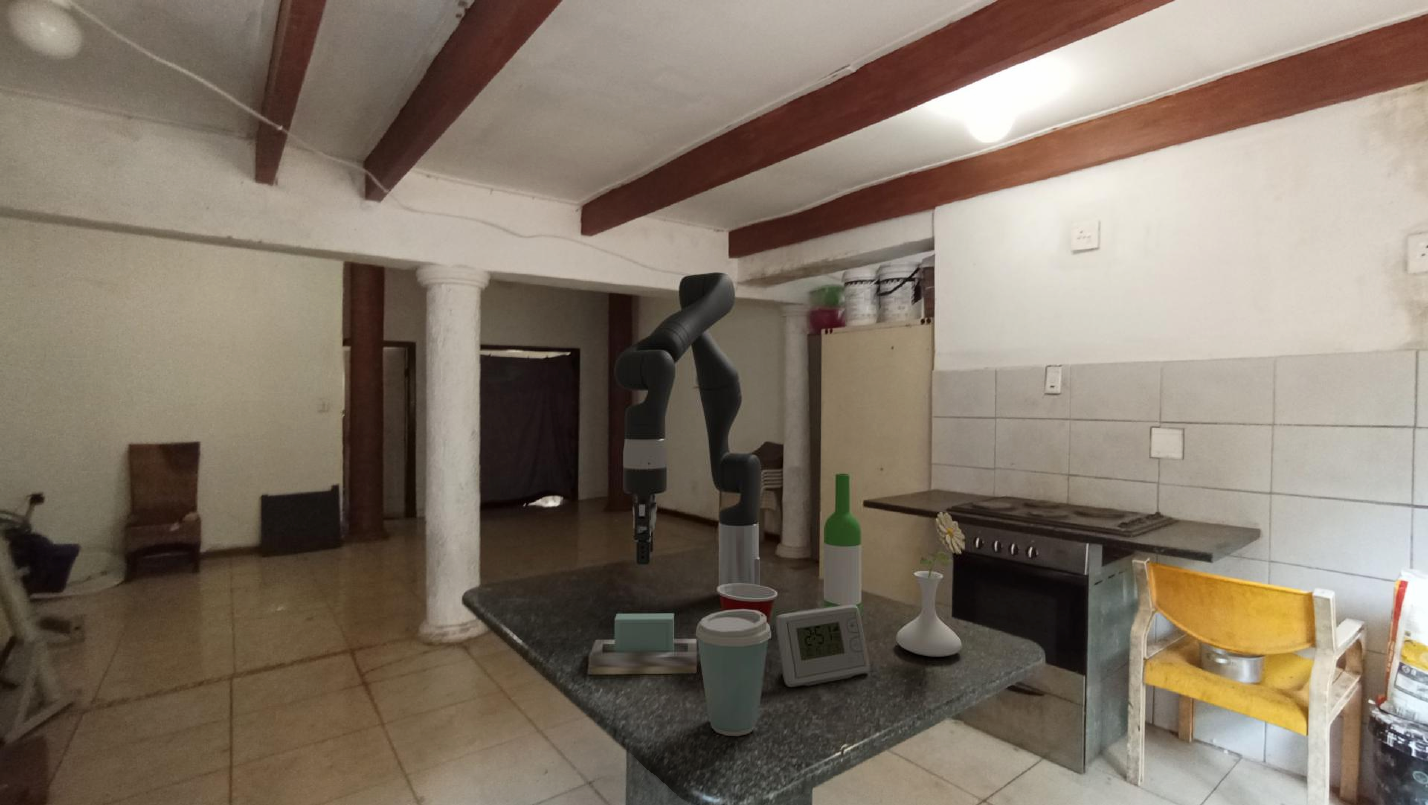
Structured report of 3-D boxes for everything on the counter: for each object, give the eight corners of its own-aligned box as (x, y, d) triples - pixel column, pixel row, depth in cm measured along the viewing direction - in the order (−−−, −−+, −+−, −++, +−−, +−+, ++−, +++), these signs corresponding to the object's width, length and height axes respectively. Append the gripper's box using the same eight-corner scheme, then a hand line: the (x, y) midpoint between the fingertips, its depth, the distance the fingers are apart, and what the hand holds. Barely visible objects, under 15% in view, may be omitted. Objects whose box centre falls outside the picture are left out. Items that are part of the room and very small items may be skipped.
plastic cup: (790, 660, 111) (790, 591, 111) (738, 673, 105) (738, 601, 105) (754, 640, 120) (754, 577, 120) (705, 652, 114) (705, 585, 114)
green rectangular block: (673, 653, 112) (673, 613, 112) (673, 660, 108) (673, 619, 108) (616, 653, 111) (616, 613, 111) (614, 661, 108) (614, 620, 108)
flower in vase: (924, 667, 108) (924, 520, 108) (883, 643, 118) (883, 510, 119) (983, 656, 113) (983, 515, 113) (938, 634, 123) (938, 506, 123)
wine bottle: (835, 607, 140) (835, 471, 140) (867, 615, 134) (867, 474, 135) (816, 616, 134) (816, 474, 134) (849, 624, 129) (849, 477, 129)
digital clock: (783, 691, 99) (783, 623, 99) (767, 668, 107) (767, 605, 108) (880, 683, 102) (880, 616, 102) (856, 661, 111) (856, 600, 111)
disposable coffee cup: (701, 748, 82) (701, 632, 82) (690, 709, 93) (690, 606, 93) (780, 741, 84) (780, 627, 84) (760, 703, 94) (760, 602, 95)
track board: (696, 650, 115) (696, 636, 115) (696, 673, 105) (696, 658, 105) (596, 651, 115) (596, 637, 115) (587, 674, 105) (587, 659, 105)
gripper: (664, 469, 103) (664, 568, 103) (668, 461, 117) (668, 548, 117) (618, 469, 103) (618, 569, 103) (627, 461, 117) (627, 548, 117)
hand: (645, 557), depth 110 cm, fingers open, 8 cm apart
